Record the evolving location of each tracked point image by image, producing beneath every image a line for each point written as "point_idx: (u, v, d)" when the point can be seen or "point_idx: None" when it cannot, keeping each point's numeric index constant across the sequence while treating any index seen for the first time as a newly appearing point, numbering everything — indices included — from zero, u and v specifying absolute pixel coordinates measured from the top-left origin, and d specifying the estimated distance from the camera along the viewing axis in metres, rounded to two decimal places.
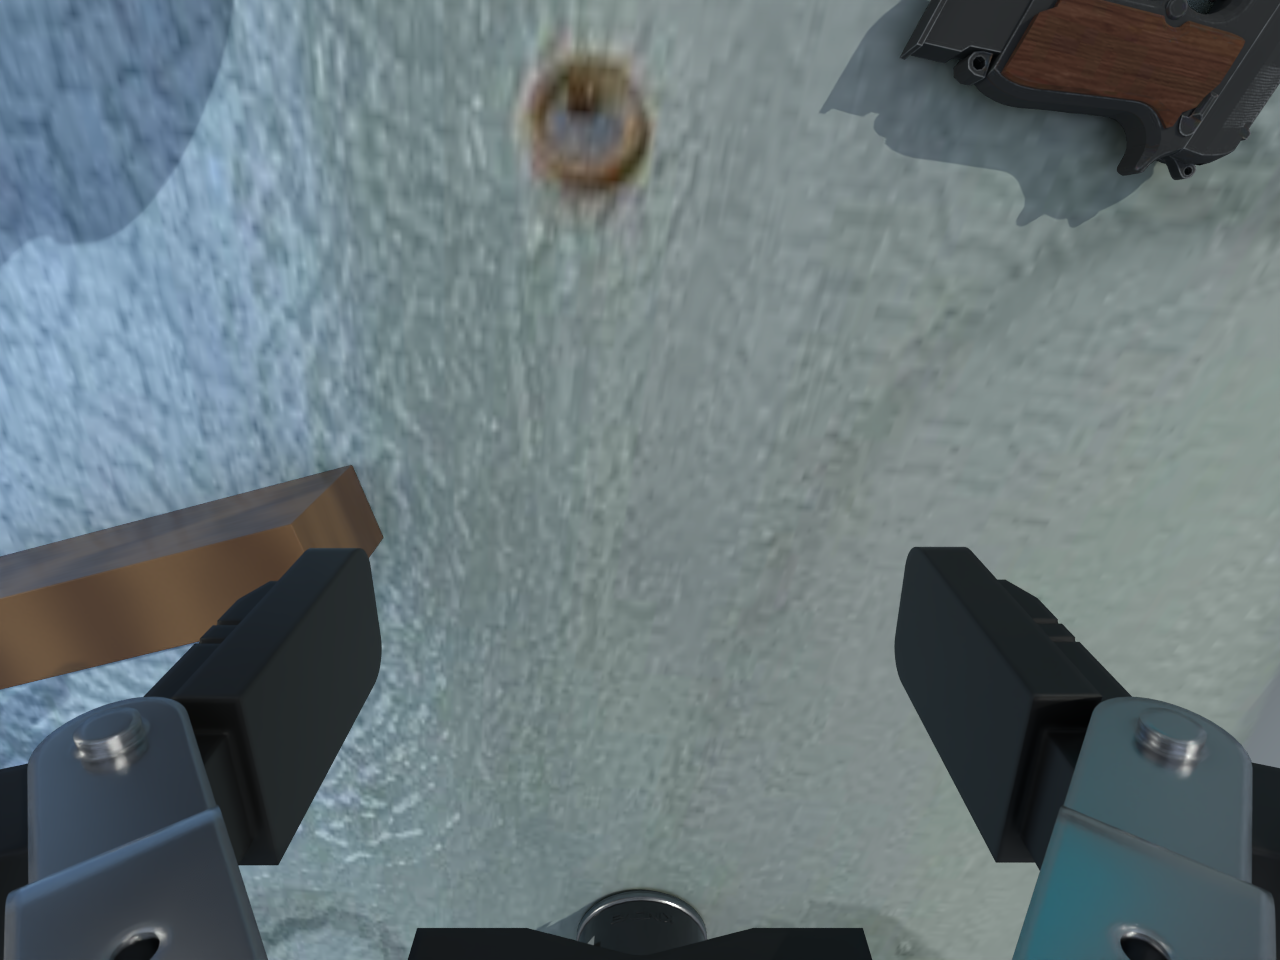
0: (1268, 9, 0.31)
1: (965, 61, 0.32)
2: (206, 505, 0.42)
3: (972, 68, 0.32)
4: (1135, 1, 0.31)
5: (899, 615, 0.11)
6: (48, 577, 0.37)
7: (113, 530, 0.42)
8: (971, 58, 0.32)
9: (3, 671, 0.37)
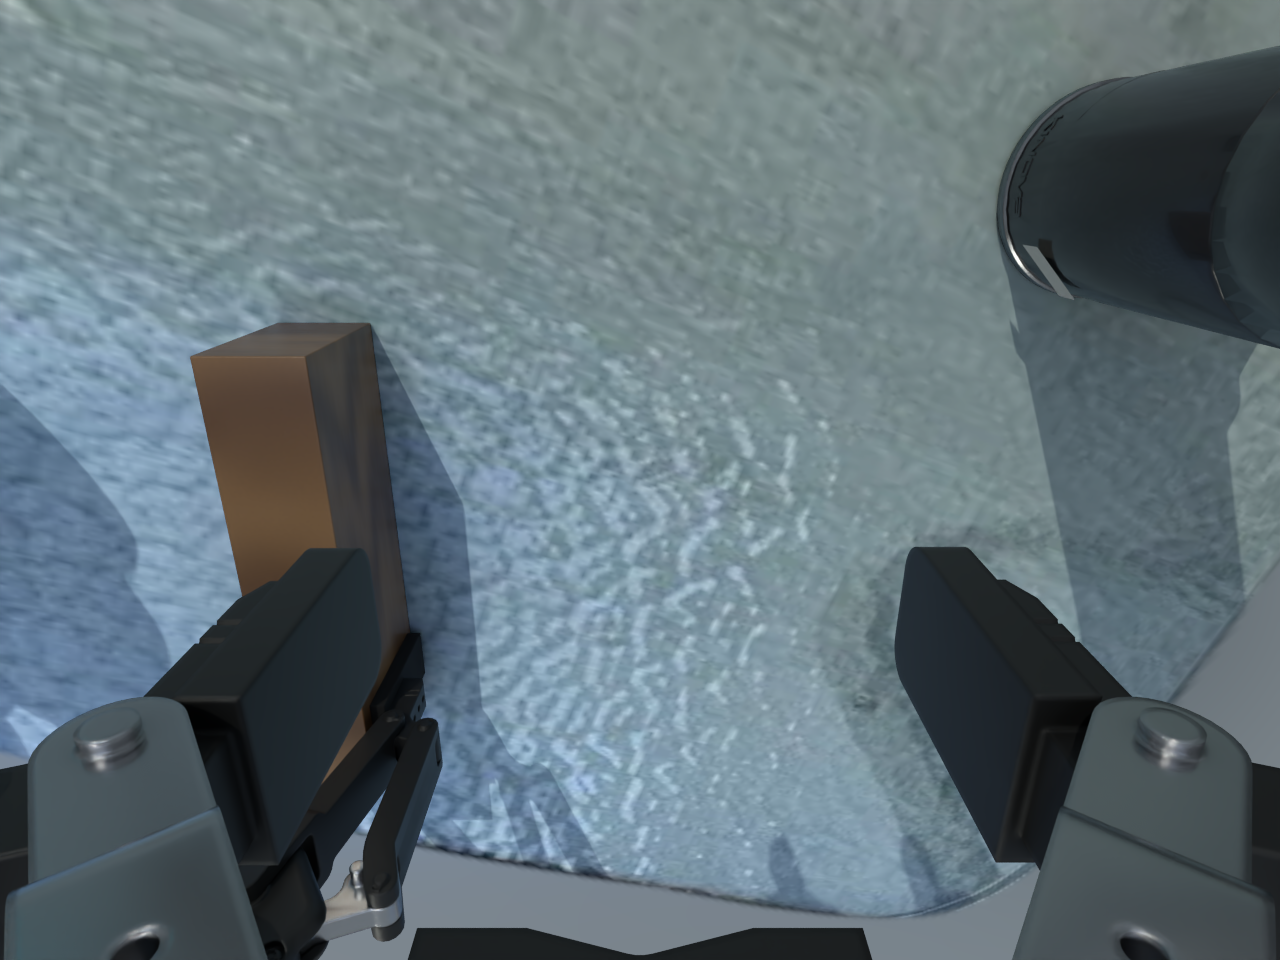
0: None
1: None
2: None
3: None
4: None
5: (899, 615, 0.11)
6: None
7: None
8: None
9: None
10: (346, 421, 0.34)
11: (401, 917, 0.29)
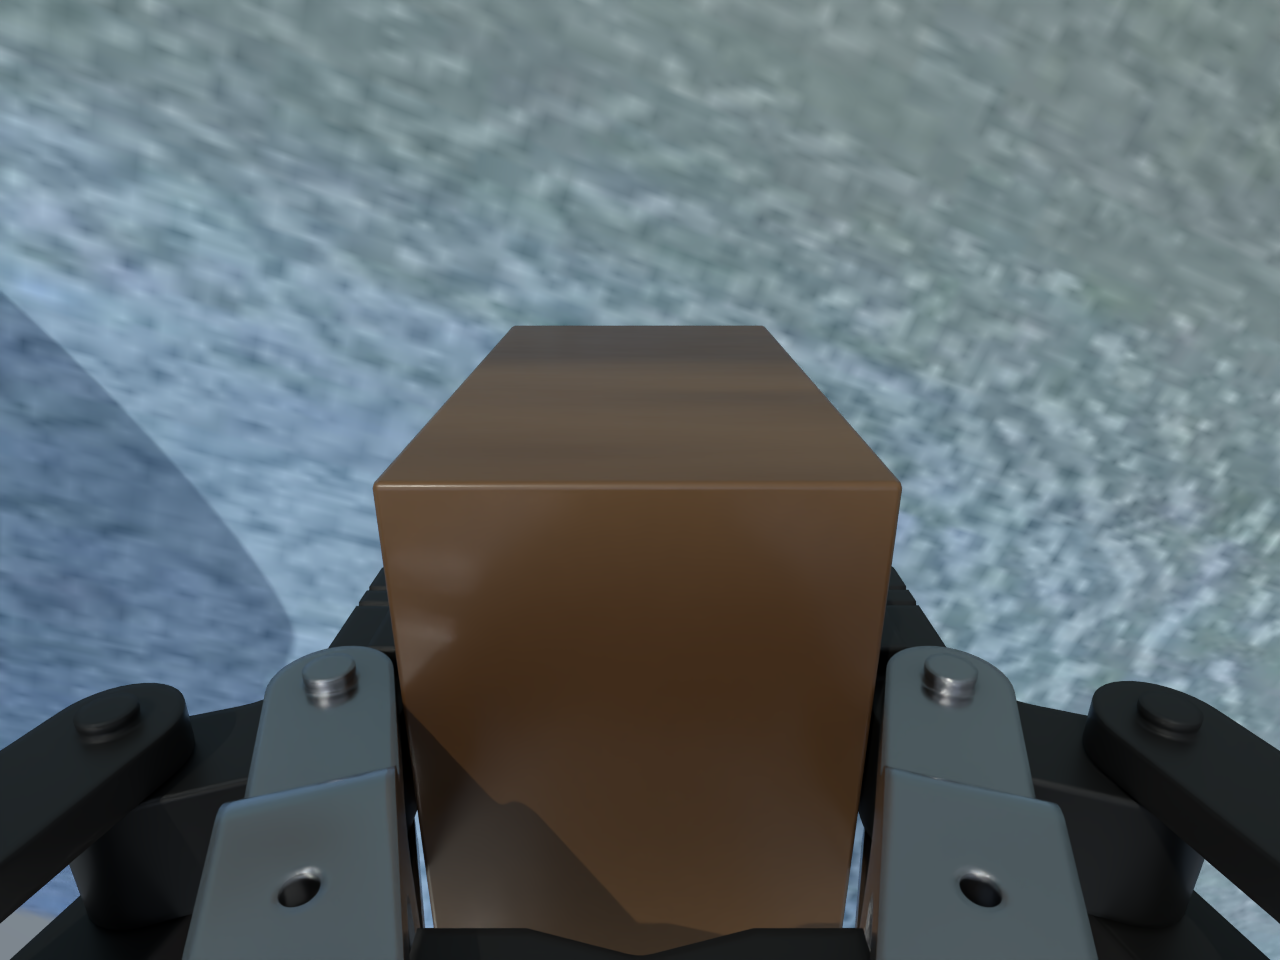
0: None
1: None
2: None
3: None
4: None
5: None
6: None
7: None
8: None
9: None
10: None
11: None
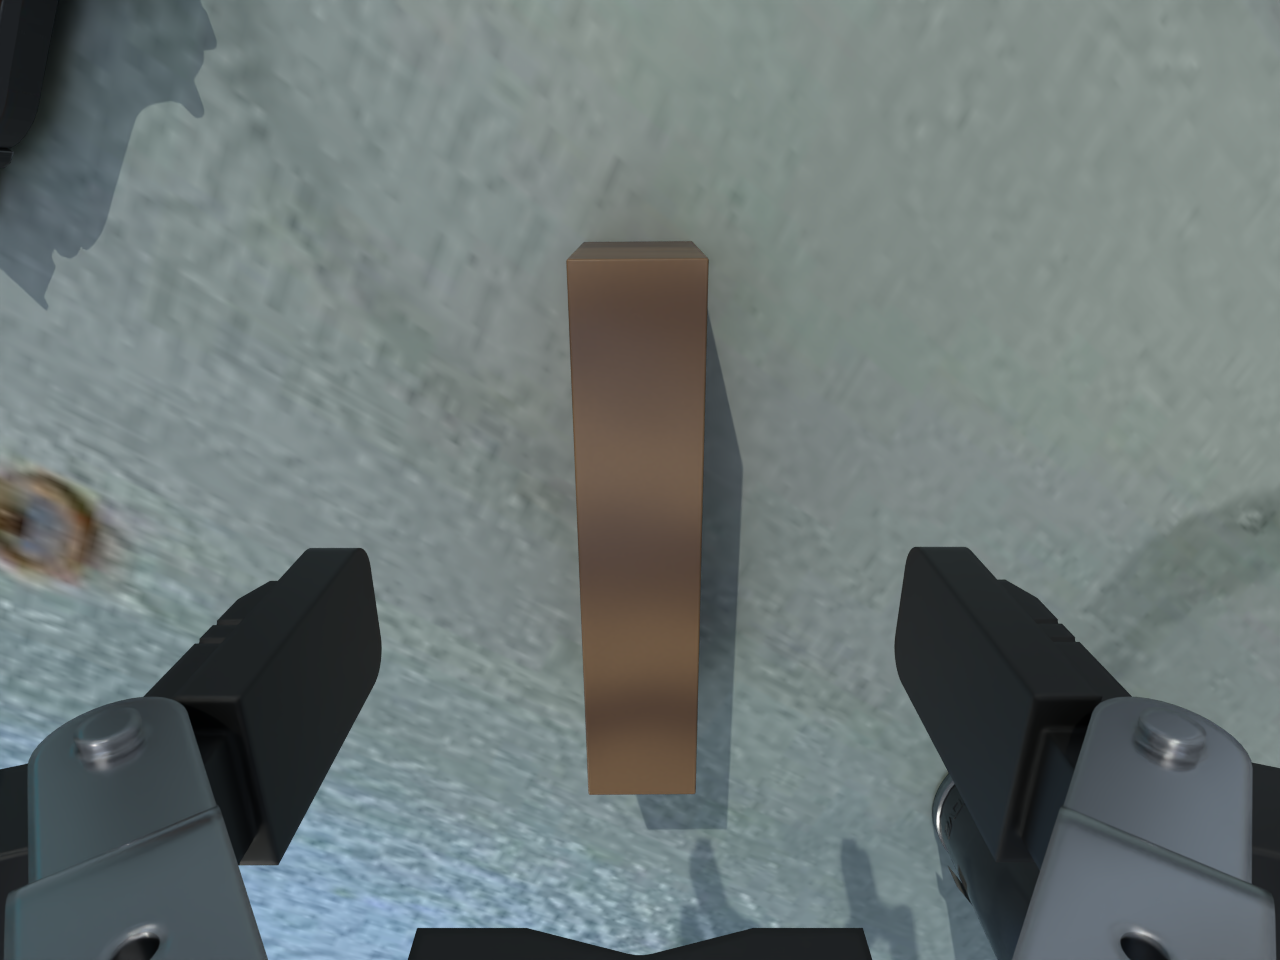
0: None
1: None
2: None
3: None
4: None
5: (899, 615, 0.11)
6: None
7: None
8: None
9: (675, 693, 0.31)
10: None
11: None
